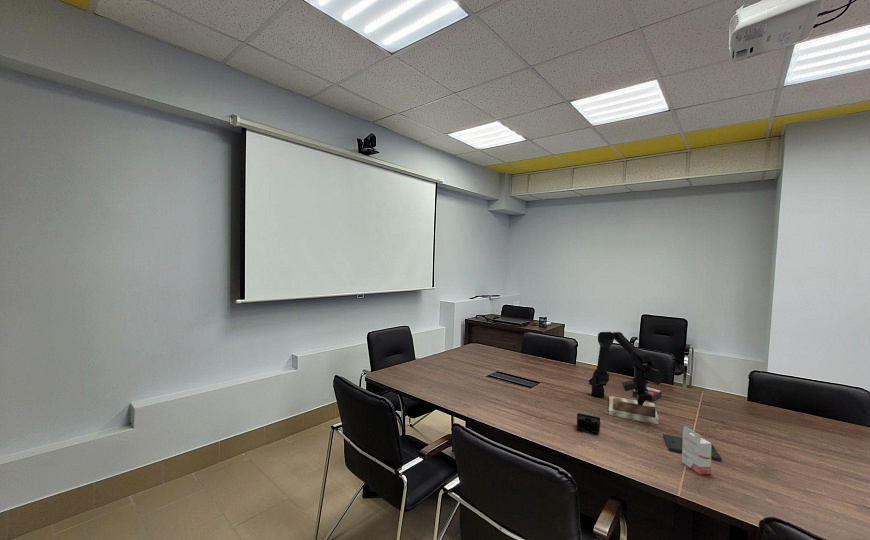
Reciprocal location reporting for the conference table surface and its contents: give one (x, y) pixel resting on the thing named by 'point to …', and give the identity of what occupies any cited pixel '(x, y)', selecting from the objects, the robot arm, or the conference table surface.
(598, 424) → the end cap
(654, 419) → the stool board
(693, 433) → the ink cartridge box
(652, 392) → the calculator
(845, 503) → the conference table surface
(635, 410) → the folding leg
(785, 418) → the conference table surface
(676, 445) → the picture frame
